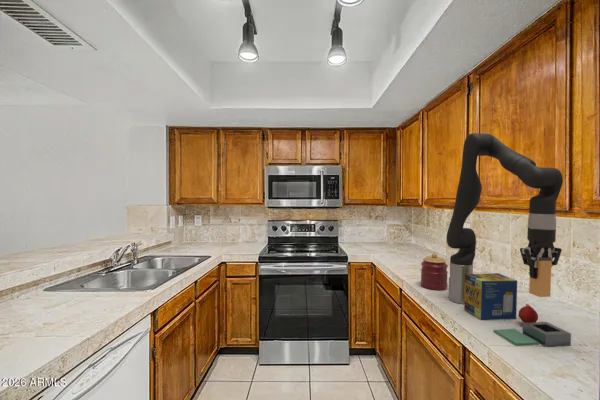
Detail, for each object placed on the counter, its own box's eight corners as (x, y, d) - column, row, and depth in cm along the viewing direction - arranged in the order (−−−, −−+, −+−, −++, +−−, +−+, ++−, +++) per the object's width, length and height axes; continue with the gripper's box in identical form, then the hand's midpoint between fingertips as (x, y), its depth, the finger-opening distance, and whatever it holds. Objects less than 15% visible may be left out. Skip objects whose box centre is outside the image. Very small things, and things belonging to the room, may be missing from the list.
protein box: (463, 310, 131) (464, 273, 130) (497, 309, 132) (498, 272, 132) (480, 320, 120) (481, 280, 120) (517, 319, 122) (518, 279, 121)
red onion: (529, 322, 119) (530, 301, 119) (541, 328, 113) (542, 306, 113) (514, 322, 119) (515, 301, 119) (526, 328, 113) (526, 307, 113)
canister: (442, 283, 169) (443, 251, 168) (451, 291, 156) (452, 256, 155) (417, 282, 170) (418, 250, 169) (424, 290, 157) (425, 255, 156)
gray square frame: (522, 334, 109) (522, 322, 109) (545, 333, 110) (546, 321, 110) (545, 346, 100) (545, 334, 100) (570, 345, 101) (571, 333, 101)
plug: (529, 293, 107) (530, 255, 106) (539, 292, 107) (540, 255, 107) (539, 297, 103) (540, 257, 102) (550, 296, 103) (551, 257, 103)
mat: (493, 331, 110) (493, 329, 110) (514, 331, 111) (514, 328, 111) (515, 345, 100) (516, 343, 100) (538, 344, 101) (538, 342, 101)
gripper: (550, 225, 109) (548, 274, 109) (513, 226, 107) (511, 275, 108) (571, 228, 101) (569, 280, 102) (532, 228, 100) (530, 281, 100)
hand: (539, 277), depth 105 cm, fingers closed on plug, 4 cm apart
